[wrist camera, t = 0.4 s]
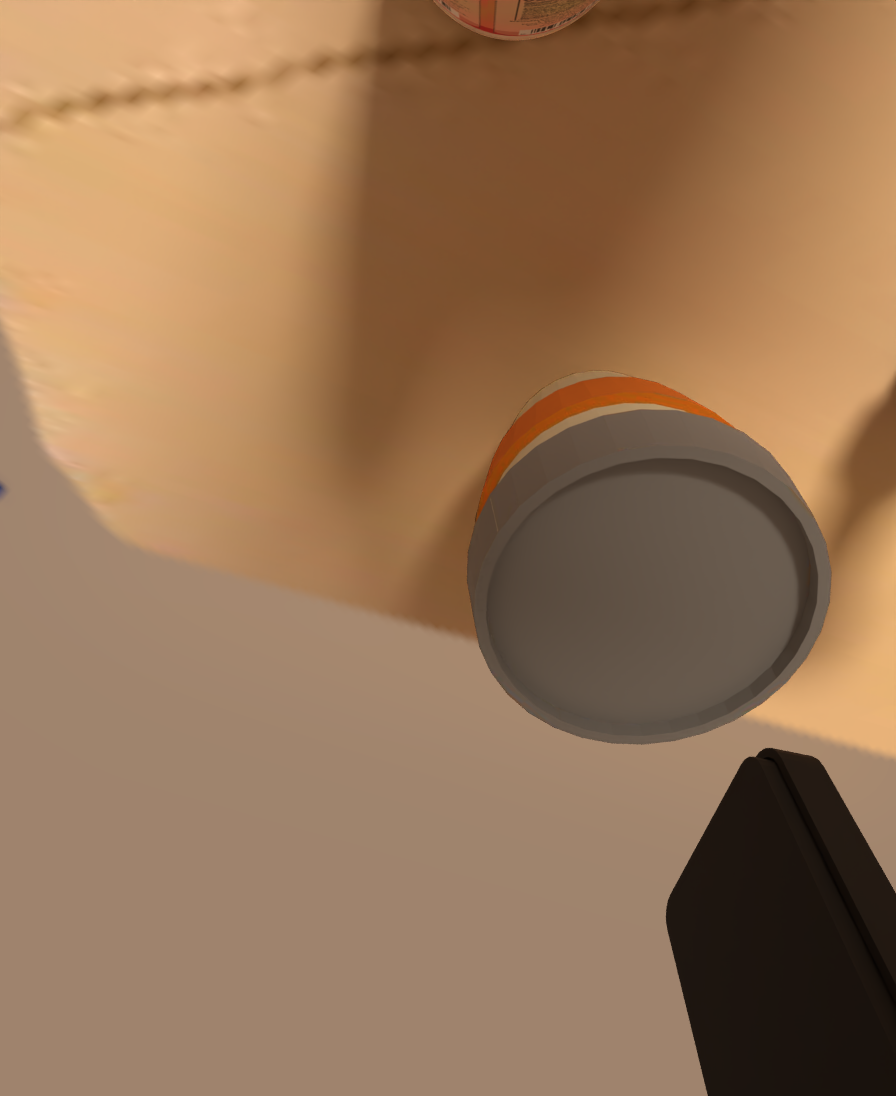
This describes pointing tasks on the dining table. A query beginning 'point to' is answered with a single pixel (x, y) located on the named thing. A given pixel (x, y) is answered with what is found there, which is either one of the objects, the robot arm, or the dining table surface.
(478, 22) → the fruit juice
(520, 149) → the dining table surface
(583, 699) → the reusable coffee cup
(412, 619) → the dining table surface
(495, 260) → the dining table surface
